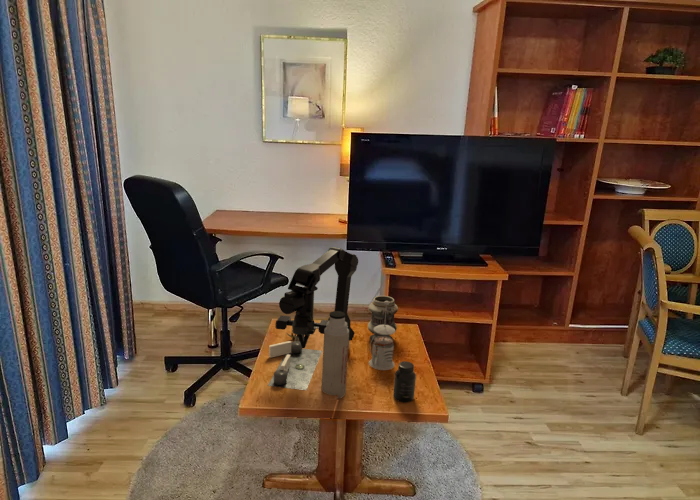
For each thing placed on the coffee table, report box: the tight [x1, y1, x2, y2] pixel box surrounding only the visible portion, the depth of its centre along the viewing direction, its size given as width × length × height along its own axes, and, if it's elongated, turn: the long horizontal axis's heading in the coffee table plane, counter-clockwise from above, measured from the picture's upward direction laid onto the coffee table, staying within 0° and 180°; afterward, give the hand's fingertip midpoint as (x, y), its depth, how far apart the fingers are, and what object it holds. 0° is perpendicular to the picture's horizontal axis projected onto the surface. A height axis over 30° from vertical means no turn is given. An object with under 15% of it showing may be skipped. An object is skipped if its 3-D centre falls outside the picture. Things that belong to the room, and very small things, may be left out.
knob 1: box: [268, 340, 303, 359], centre depth 180 cm, size 13×4×4 cm, turn 124°
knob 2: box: [273, 354, 290, 385], centre depth 164 cm, size 13×4×4 cm, turn 173°
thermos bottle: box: [321, 311, 350, 400], centre depth 156 cm, size 8×8×28 cm
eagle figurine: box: [286, 332, 300, 341], centre depth 190 cm, size 8×7×9 cm
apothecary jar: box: [367, 295, 399, 343], centre depth 199 cm, size 12×12×18 cm
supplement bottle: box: [392, 360, 417, 404], centre depth 157 cm, size 7×7×12 cm
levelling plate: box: [267, 348, 323, 391], centre depth 171 cm, size 13×29×2 cm, turn 173°
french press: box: [368, 301, 396, 371], centre depth 177 cm, size 10×12×25 cm
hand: (303, 347), depth 165 cm, fingers closed
